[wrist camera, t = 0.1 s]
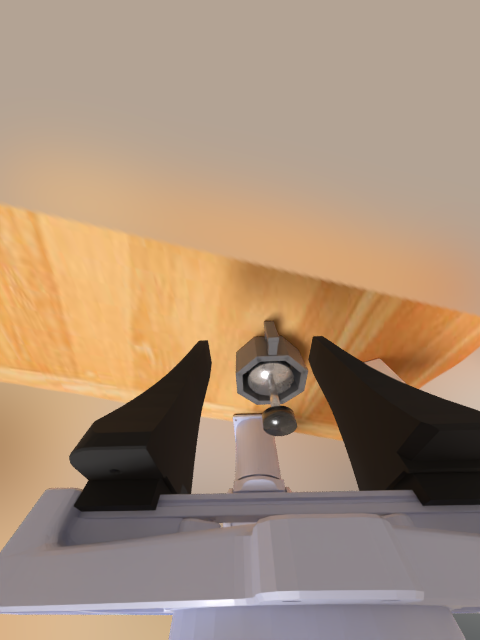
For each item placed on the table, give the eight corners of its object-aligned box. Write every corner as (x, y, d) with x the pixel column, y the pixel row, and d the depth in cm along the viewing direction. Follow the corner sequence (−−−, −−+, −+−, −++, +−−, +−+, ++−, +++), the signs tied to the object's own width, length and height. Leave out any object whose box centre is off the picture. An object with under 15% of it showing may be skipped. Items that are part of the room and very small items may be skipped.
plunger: (290, 391, 24) (305, 441, 19) (248, 392, 25) (250, 443, 19) (294, 359, 21) (314, 408, 16) (247, 361, 22) (250, 409, 16)
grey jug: (293, 380, 28) (301, 403, 24) (238, 382, 28) (238, 405, 25) (303, 319, 22) (315, 336, 19) (234, 322, 22) (233, 340, 19)
